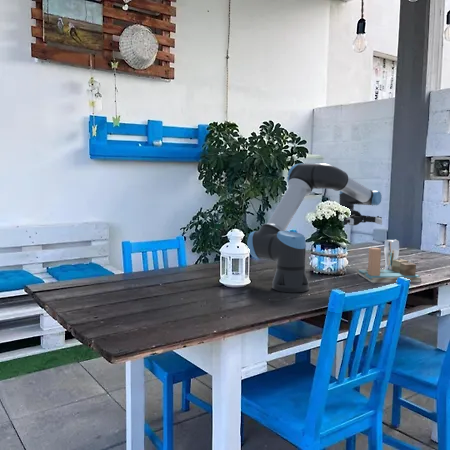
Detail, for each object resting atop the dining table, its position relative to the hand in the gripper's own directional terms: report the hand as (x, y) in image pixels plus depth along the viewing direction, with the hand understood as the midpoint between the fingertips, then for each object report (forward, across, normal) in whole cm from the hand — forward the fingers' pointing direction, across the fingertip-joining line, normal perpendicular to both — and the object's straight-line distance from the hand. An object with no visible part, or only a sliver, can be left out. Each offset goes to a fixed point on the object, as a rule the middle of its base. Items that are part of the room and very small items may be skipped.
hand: (367, 221), depth 219 cm
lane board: (+7, -8, -25) cm, 27 cm away
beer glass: (-9, -16, -26) cm, 32 cm away
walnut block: (+12, -15, -23) cm, 30 cm away
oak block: (+2, -16, -23) cm, 28 cm away
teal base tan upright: (+11, -8, -24) cm, 28 cm away
